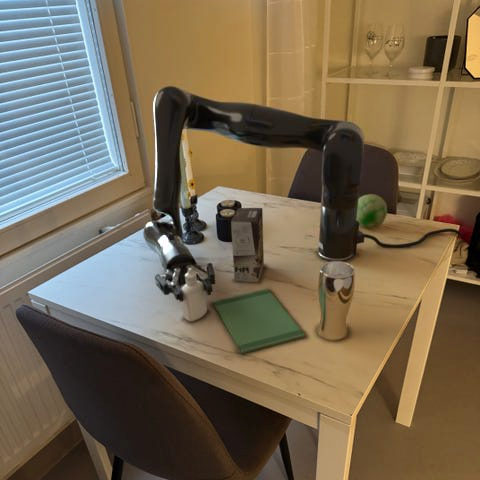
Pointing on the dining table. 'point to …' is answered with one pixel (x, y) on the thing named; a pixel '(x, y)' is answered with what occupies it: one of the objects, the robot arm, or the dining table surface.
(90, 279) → the dining table surface
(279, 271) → the dining table surface
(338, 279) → the beer glass
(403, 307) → the dining table surface
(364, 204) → the decorative ball
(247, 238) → the coffee box
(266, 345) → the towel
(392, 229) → the dining table surface
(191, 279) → the eye dropper bottle
